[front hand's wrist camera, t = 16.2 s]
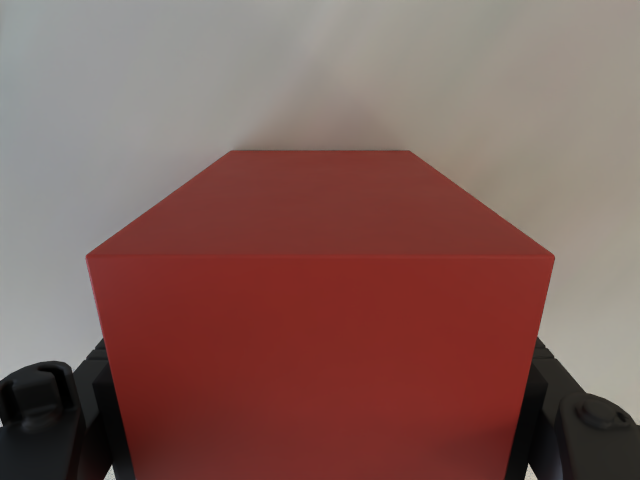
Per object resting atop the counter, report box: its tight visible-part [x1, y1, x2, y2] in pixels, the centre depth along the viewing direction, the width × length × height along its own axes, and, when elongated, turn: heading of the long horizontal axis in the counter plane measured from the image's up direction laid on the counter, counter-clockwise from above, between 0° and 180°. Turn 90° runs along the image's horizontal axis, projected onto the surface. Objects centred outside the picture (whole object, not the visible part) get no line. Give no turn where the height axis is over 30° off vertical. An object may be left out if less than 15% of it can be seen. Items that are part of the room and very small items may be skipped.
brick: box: [85, 151, 555, 480], centre depth 13 cm, size 9×7×11 cm
